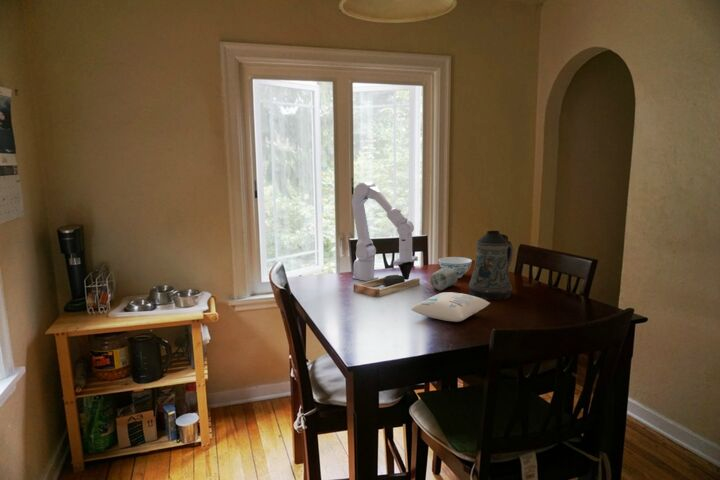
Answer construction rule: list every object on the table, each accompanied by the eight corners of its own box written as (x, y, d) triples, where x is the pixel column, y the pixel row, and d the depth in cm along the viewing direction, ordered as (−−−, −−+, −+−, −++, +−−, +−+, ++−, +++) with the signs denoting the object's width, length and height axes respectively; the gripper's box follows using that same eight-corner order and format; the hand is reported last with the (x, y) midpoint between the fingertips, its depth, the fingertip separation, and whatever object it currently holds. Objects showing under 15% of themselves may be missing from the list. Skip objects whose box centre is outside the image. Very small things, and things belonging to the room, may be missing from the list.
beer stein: (463, 297, 176) (464, 233, 172) (475, 285, 193) (477, 227, 189) (507, 302, 168) (509, 235, 164) (516, 289, 185) (518, 229, 181)
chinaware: (472, 280, 201) (472, 263, 200) (437, 279, 204) (438, 263, 203) (470, 273, 216) (471, 257, 215) (439, 272, 219) (439, 256, 218)
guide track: (353, 291, 188) (353, 284, 188) (396, 279, 207) (396, 272, 206) (376, 297, 179) (376, 289, 178) (419, 284, 197) (419, 277, 197)
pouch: (441, 284, 165) (411, 294, 150) (491, 294, 153) (463, 306, 138) (440, 305, 167) (410, 318, 151) (489, 317, 155) (462, 331, 139)
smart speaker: (403, 283, 200) (403, 274, 200) (406, 288, 192) (405, 279, 191) (383, 283, 200) (383, 274, 199) (385, 288, 191) (384, 279, 191)
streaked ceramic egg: (447, 286, 180) (440, 262, 184) (428, 293, 186) (422, 270, 190) (465, 287, 190) (459, 265, 194) (447, 294, 196) (441, 272, 199)
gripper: (401, 252, 191) (402, 283, 193) (423, 247, 201) (423, 277, 203) (389, 250, 196) (389, 281, 198) (410, 246, 206) (410, 275, 208)
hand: (405, 279), depth 201 cm, fingers closed
